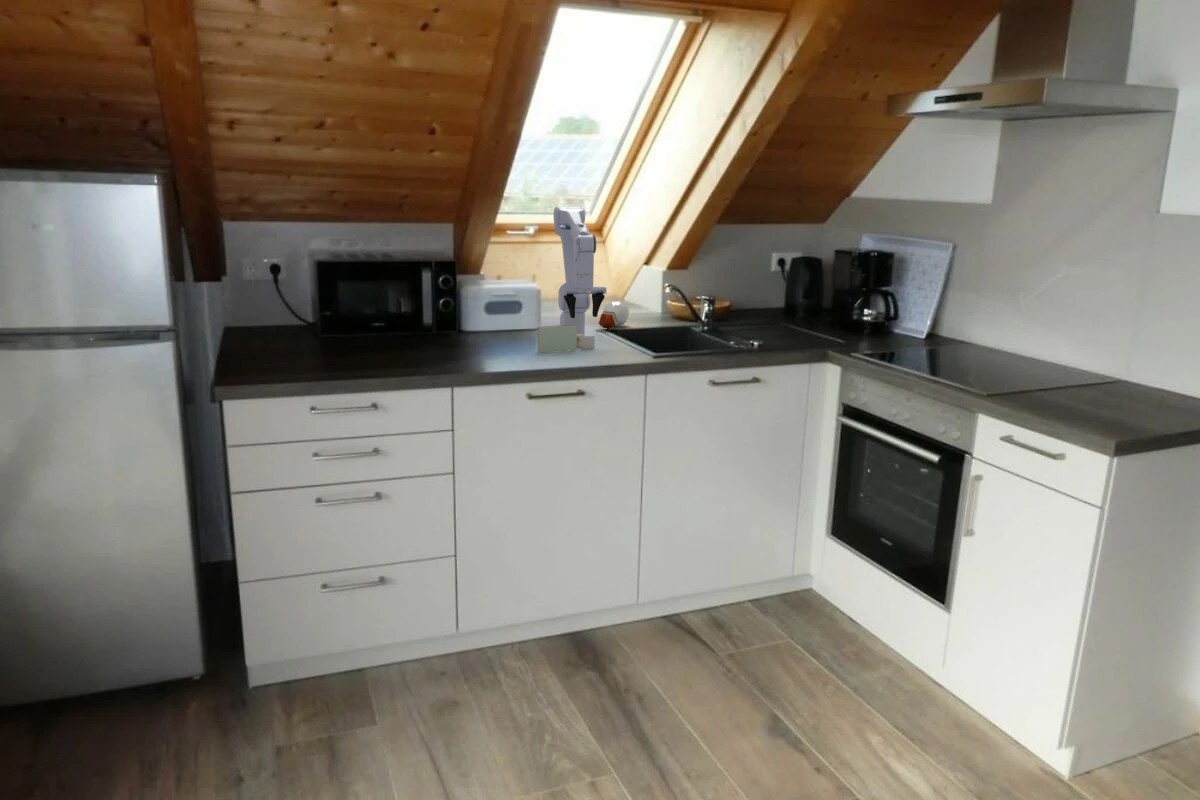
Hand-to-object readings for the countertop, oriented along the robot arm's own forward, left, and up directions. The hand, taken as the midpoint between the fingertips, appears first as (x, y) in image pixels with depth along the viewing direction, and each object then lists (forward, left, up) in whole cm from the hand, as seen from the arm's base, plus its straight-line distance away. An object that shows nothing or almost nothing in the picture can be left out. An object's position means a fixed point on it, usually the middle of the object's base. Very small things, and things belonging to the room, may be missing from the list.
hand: (583, 317), depth 277 cm
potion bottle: (-28, +23, -10) cm, 38 cm away
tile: (+5, -11, -10) cm, 15 cm away
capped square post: (-1, 0, -10) cm, 10 cm away
